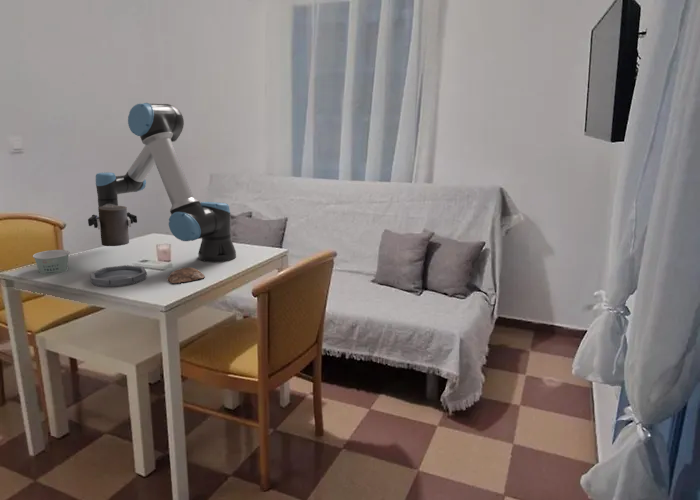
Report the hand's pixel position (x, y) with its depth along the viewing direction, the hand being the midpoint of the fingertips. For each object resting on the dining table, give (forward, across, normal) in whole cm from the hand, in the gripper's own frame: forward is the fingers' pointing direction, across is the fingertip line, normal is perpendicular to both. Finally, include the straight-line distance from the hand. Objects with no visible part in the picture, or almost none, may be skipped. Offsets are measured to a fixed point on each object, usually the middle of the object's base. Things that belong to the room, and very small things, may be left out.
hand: (114, 224), depth 189 cm
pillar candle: (-4, 0, -8) cm, 9 cm away
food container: (-12, +22, -18) cm, 31 cm away
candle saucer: (+10, +1, -18) cm, 21 cm away
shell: (+19, -21, -19) cm, 33 cm away
